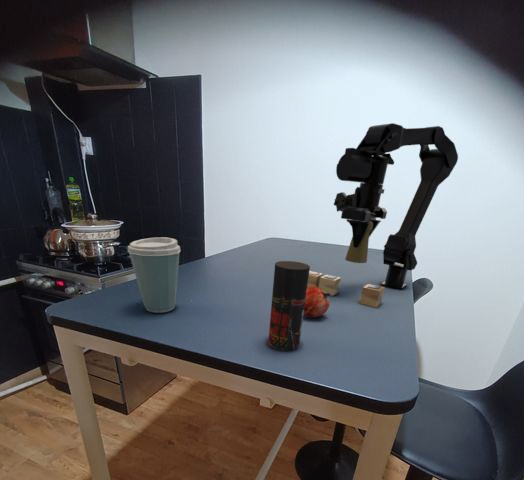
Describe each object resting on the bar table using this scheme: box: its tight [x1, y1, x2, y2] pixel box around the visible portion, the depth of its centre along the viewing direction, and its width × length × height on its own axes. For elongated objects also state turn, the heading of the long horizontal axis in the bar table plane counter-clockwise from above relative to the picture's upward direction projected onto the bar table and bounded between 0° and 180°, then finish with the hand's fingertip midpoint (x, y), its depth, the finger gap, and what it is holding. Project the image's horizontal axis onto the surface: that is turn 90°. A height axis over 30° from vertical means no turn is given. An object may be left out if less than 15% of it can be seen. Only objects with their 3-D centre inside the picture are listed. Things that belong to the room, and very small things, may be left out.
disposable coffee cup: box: [127, 236, 182, 314], centre depth 69 cm, size 11×11×15 cm
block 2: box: [318, 274, 342, 297], centre depth 91 cm, size 4×4×5 cm
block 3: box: [359, 283, 386, 308], centre depth 85 cm, size 4×4×5 cm
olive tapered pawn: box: [344, 220, 373, 264], centre depth 88 cm, size 6×6×11 cm
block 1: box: [307, 270, 324, 287], centre depth 93 cm, size 4×4×5 cm
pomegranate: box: [303, 286, 333, 319], centre depth 73 cm, size 7×7×10 cm
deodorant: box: [267, 260, 311, 352], centre depth 57 cm, size 6×6×15 cm
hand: (358, 246), depth 88 cm, fingers closed on olive tapered pawn, 4 cm apart
